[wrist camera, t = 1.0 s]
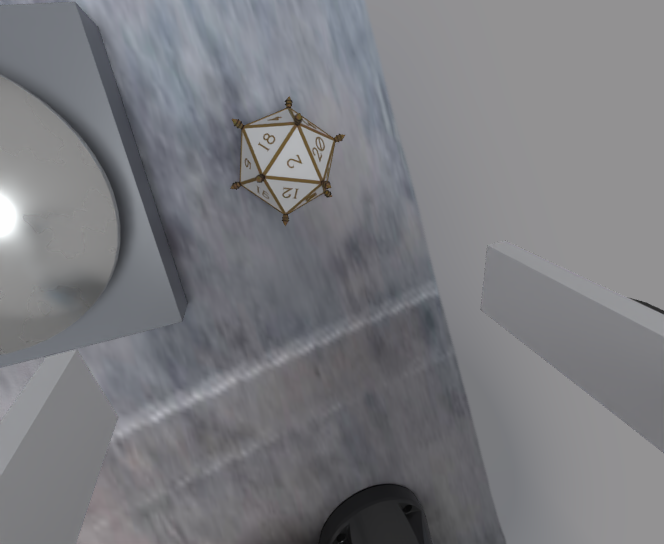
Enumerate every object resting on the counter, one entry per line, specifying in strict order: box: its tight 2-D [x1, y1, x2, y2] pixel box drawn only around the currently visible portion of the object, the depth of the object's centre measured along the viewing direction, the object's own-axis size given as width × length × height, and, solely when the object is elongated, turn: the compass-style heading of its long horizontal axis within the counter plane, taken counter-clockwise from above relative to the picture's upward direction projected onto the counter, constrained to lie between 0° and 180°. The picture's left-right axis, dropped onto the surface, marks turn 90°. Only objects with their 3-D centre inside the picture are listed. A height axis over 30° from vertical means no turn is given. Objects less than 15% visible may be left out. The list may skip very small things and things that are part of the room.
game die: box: [230, 97, 345, 226], centre depth 27 cm, size 9×8×10 cm
